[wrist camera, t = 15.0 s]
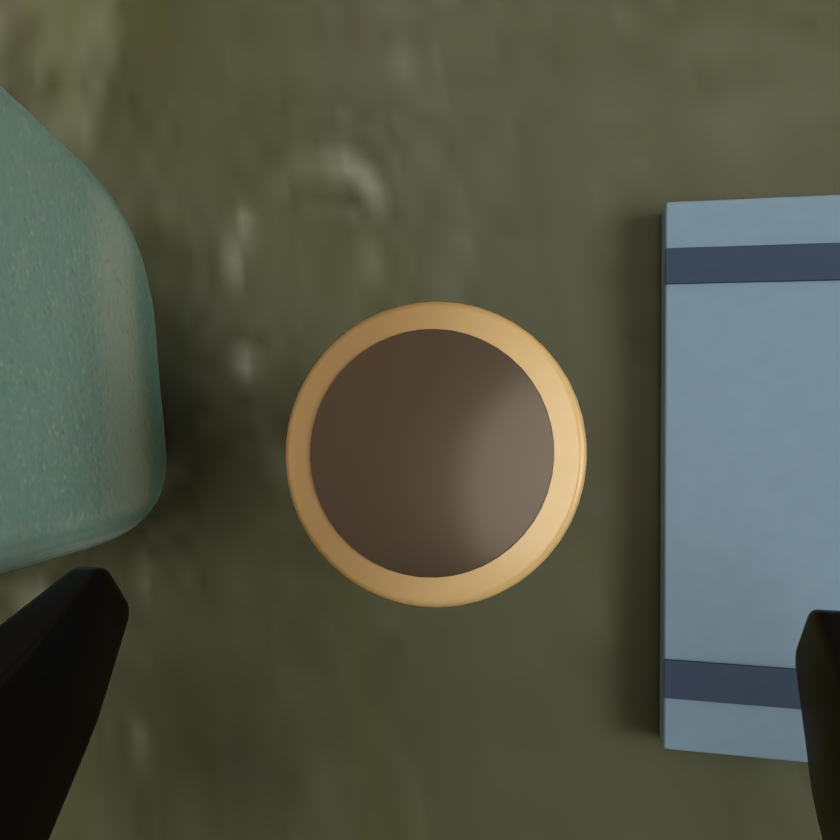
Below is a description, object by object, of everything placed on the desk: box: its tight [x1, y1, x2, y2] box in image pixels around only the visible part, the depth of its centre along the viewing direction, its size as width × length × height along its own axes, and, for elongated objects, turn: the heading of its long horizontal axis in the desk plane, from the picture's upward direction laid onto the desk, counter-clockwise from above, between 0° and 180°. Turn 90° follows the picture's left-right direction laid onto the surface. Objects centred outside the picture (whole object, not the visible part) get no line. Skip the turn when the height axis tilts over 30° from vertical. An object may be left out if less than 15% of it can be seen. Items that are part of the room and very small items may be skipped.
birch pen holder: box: [286, 301, 587, 608], centre depth 14 cm, size 4×4×8 cm
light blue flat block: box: [659, 195, 840, 763], centre depth 16 cm, size 4×12×1 cm, turn 178°
